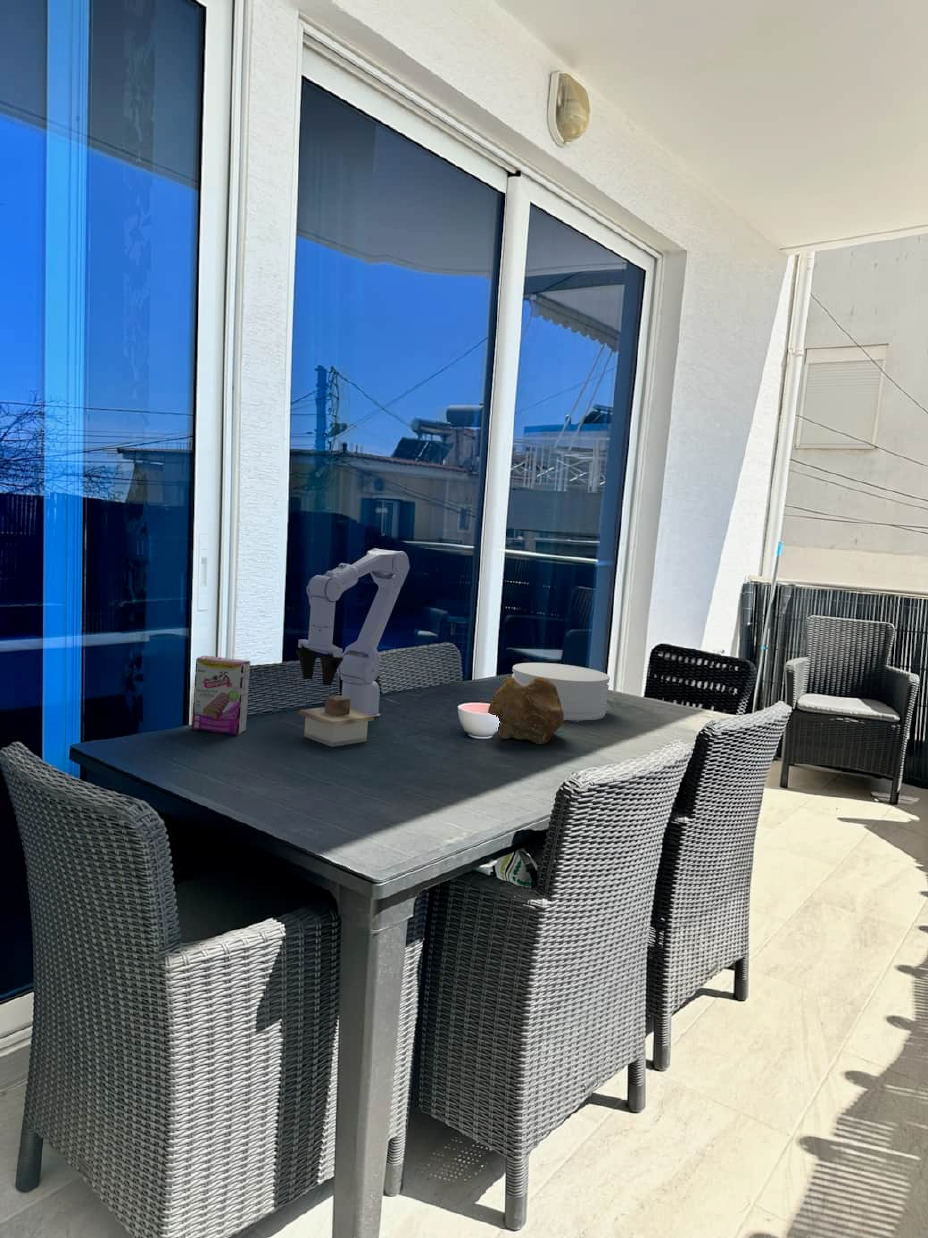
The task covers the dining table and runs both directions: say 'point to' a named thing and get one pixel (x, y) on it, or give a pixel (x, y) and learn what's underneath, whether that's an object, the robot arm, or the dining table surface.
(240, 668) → the candy bar box
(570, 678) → the grey short cylinder
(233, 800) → the dining table surface
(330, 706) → the lid
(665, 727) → the dining table surface
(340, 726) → the dish
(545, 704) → the rough brown rock
